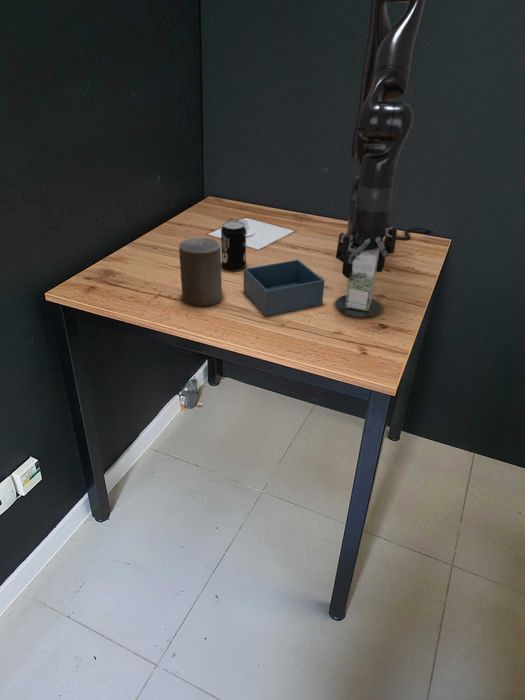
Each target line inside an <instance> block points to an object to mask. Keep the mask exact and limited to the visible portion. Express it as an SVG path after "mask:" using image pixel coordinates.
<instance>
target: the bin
mask: <svg viewBox="0 0 525 700" xmlns="http://www.w3.org/2000/svg"><path fill="white" fill-rule="evenodd" d="M324 289H325V279H323V278H322V277H320V275H318V274H317V273H315V272H314V271H313V270H312V269H311V268H310V267H308V265H306V264H304V263H303V262H302V261H301V260H299V259H294V260H287V261H281V262H276V263H270V264H264V265H259V266H253V267H247V268H243V293H244V294H245V296H246V297H247V298H248V299H249V300H250V301H251V302H252V303H253V304H254V305H255V306H256V307H257V308H258V310H259V311H260V312H261V314H263V315H264V316H265V317H270V316H274V315H278V314H283V313H287V312H293V311H298V310H302V309H307V308H311V307H315V306H321V305H323V301H324V300H323V299H324Z"/></svg>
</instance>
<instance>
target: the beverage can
mask: <svg viewBox="0 0 525 700" xmlns="http://www.w3.org/2000/svg"><path fill="white" fill-rule="evenodd" d="M221 228H222V229H221ZM221 228H220V229H221V238H220V239H221V242H220V243H221V266H222V267H224V269H226V270H228V271H239V270H242V269H244V267H245V266H246V265H247V246H246V229H245V227H244V223H242V222H239V221H238V220H227V221H225V222H223V223H222V227H221Z"/></svg>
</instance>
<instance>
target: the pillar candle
mask: <svg viewBox="0 0 525 700" xmlns="http://www.w3.org/2000/svg"><path fill="white" fill-rule="evenodd" d="M221 246H222V243H221V242H220V241H219V240H216V239H214V238H209V237H198V236H197V237H192V238H191V237H190V238H186V239H184V240H182V241H180V243H179V244H178V253H179V268H180V281H181V294H182V295H181V297H182V300H183V302H184V303H185V304H187V305H189V306H190V305H191V306H193V307H208V306H212V305H215V304H218V303H219V302H220V301H221V300H222V297H223V289H222V285H223V284H222V252H221Z"/></svg>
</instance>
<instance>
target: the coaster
mask: <svg viewBox="0 0 525 700" xmlns="http://www.w3.org/2000/svg"><path fill="white" fill-rule="evenodd" d="M345 302H346V295H341V296H340V297H338V298H337V299H335V303H334V307H335V309H336V310H337V311H338V312H339V313H340V314H342V315H344V316H346V317H350V318H354V319H355V318H356V319H370V318H373V317H375V316H378V315H379V314H381V312H382V305H381V304H380V302H379V301H377V300H376V299H374V298H372V301H371V304H370V307H369V310H368V311H363V310H357V309H352V308H346V307H345Z"/></svg>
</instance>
